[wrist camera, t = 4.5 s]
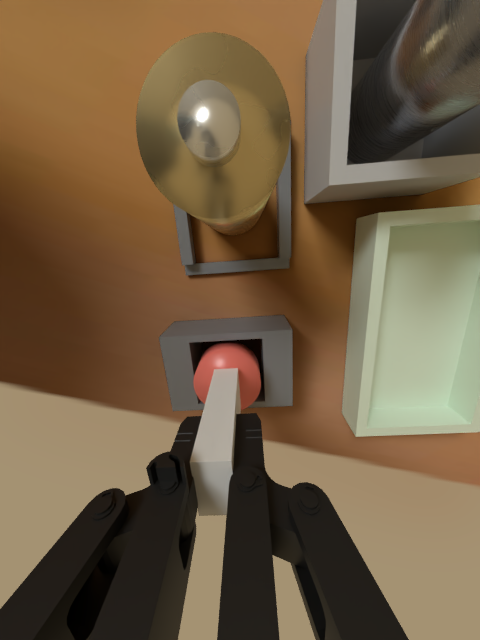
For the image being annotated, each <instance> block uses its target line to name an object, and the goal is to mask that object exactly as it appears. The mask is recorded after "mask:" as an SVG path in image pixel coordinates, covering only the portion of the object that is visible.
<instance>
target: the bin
mask: <svg viewBox="0 0 480 640" xmlns="http://www.w3.org/2000/svg"><path fill="white" fill-rule="evenodd" d="M415 1H416V0H323V3H322V6H321V9H320V12H319V16H318V19H317V22H316V25H315V28H314V31H313V35H312V38H311V41H310V44H309V47H308V51H307V54H306V89H305V169H304V204H311V203H323V202H336V201H348V200H360V199H372V198H385V197H397V196H409V195H422V194H425V193H429V192H432V191H435V190H438V189H442V188H445V187H448V186H452V185H455V184H458V183H462V182H465V181H468V180H471V179H475V178H478V177H480V104H479V105H478V106H476V107H474V108H473V109H471V110H469V111H468V112H466V113H464V114H463V115H461V116H459V117H458V118H456V119H454V120H453V121H451V122H449V123H448V124H446V125H444V126H443V127H441V128H439V129H438V130H436V131H434V132H433V133H431V134H429V135H428V136H426V137H424V138H423V139H421V140H419V141H418V142H416V143H414V144H413V145H411V146H409V147H408V148H406V149H404V150H403V151H401V152H399V153H398V154H396V155H394V156H393V157H391V158H389V159H388V160H386V161H384V162H376V163H365V164H354V163H352V162H351V161H350V160H348V159H347V152H348V136H349V119H350V103H351V93H352V91H353V90H354V88H355V87H356V85H357V84H358V83H359V81H360V80H361V78H362V77H363V75H364V74H365V73H366V71H367V70H368V68H369V67H370V65H371V64H372V63H373V61H374V60H375V58H376V57H377V55H378V54H379V52H380V51H381V50H382V48H383V47H384V45H385V44H386V42H387V41H388V40H389V38H390V37H391V35H392V34H393V32H394V31H395V30H396V28H397V27H398V25H399V24H400V22H401V21H402V20H403V18H404V17H405V15H406V14H407V12H408V11H409V10H410V8H411V7H412V5H413V4H414V2H415Z"/></svg>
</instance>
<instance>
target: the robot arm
mask: <svg viewBox="0 0 480 640" xmlns="http://www.w3.org/2000/svg"><path fill="white" fill-rule="evenodd" d="M146 469H147V473H148V476H149V480H150V484H151V485H150V486H149V487H147V488H145V489H143V490H140V491H137V492H134V493H131V494H129V495H126V496H125V494H124V492H123V491H122V490H120V489H117V488H113V489H109V490H106V491H103V492H102V493H100V494H99V495H97V496H96V497H95V498H94V499H93V500H92V501H91V502H89V503H88V505H87V506H86V507H85V508H84V509H83V511H82V512H81V513H80V514H79V515H78V517H77V518H76V519H75V520H74V522H73V523H72V524H71V525H70V526H69V528H68V529H67V530H66V531H65V532H64V534H63V535H62V536H61V537H60V539H58V541H57V542H56V543H55V544H54V545H53V547H52V548H51V549H50V550H49V552H48V553H47V554H46V555H45V556H44V557H43V559H42V560H41V561H40V562H39V564H38V565H37V566H36V567H35V568H34V569H33V571H32V572H31V573H30V574H29V575H28V577H27V578H26V579H25V580H24V581H23V583H22V584H21V585H20V586H19V588H18V589H17V590H16V591H15V592H14V593H13V595H12V596H11V597H10V598H9V599H8V601H7V602H6V603H5V604H4V605H3V607H2V608H1V609H0V640H178V634H179V629H180V623H181V618H182V612H183V605H184V600H185V595H186V589H187V583H188V577H189V572H190V566H191V560H192V554H193V549H194V543H195V537H196V524H195V518H196V513H197V508H198V512H199V516H204V515H227V518H226V532H225V545H224V557H223V571H222V584H221V597H220V610H219V623H218V637H217V640H279V630H278V618H277V605H276V593H275V582H274V569H273V558H272V555H274V556H276V557H279V558H281V559H283V560H286V561H288V562H290V563H291V565H292V568H293V572H294V574H295V578H296V581H297V584H298V587H299V590H300V593H301V596H302V599H303V602H304V605H305V608H306V611H307V614H308V617H309V620H310V623H311V626H312V630H313V632H314V636H315V639H316V640H409V639H408V638H407V636H406V634H405V633H404V631H403V629H402V627H401V625H400V623H399V622H398V620H397V618H396V617H395V615H394V613H393V611H392V609H391V608H390V606H389V604H388V602H387V601H386V599H385V597H384V595H383V594H382V592H381V590H380V588H379V586H378V585H377V583H376V581H375V580H374V578H373V576H372V574H371V572H370V571H369V569H368V567H367V565H366V564H365V562H364V560H363V558H362V556H361V555H360V553H359V551H358V549H357V548H356V546H355V544H354V543H353V541H352V539H351V537H350V535H349V534H348V532H347V530H346V528H345V527H344V525H343V523H342V521H341V520H340V518H339V516H338V514H337V512H336V511H335V509H334V507H333V505H332V504H331V502H330V500H329V498H328V497H327V495H326V494H325V493H324V492H323V491H322V489H320V488H319V487H317V486H316V485H314V484H311V483H307V482H306V483H299V484H297V485H295V486H293V488H292V489H291V488H288V487H284V486H282V485H279V484H277V483H275V482H274V481H273V480H271V478H270V477H269V476H268V474H267V473H266V471H265V466H264V454H263V442H262V430H261V420H260V419H259V417H258V416H257V414H256V413H250V414H241V400H240V388H239V375H238V368H229V369H214V372H213V376H212V380H211V384H210V387H209V391H208V395H207V399H206V402H205V406H204V410H203V414H202V416H193V417H187V418H186V419H185V420H184V421H183V422H182V423H181V425H180V427H179V430H178V433H177V435H176V438H175V442H174V444H173V446H172V449H171V451H170V452H166V453H162V454H160V455H158V456H156V457H155V458H154V459H153V460H152V461H151V462H150V463H149V465H148V466H147V468H146Z"/></svg>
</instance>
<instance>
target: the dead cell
mask: <svg viewBox="0 0 480 640" xmlns="http://www.w3.org/2000/svg"><path fill="white" fill-rule="evenodd" d="M479 104H480V0H416V1H415V2H414V4H413V5H412V7H411V8H410V10H409V11H408V12H407V14H406V15H405V17H404V18H403V20H402V21H401V22H400V24H399V25H398V27H397V28H396V30H395V31H394V32H393V34H392V35H391V37H390V38H389V40H388V41H387V42H386V44H385V45H384V47H383V48H382V50H381V51H380V52H379V54H378V55H377V57H376V58H375V60H374V61H373V63H372V64H371V65H370V67H369V68H368V70H367V71H366V73H365V74H364V75H363V77H362V78H361V80H360V81H359V83H358V84H357V85H356V87H355V88H354V90H353V91H352V93H351V103H350V119H349V136H348V152H347V159H348V160H350V161H351V162H352V163H354V164H365V163H376V162H384V161H386V160H388V159H389V158H391V157H393V156H394V155H396V154H398V153H399V152H401V151H403V150H404V149H406V148H408V147H409V146H411V145H413V144H414V143H416V142H418V141H419V140H421V139H423V138H424V137H426V136H428V135H429V134H431V133H433V132H434V131H436V130H438V129H439V128H441V127H443V126H444V125H446V124H448V123H449V122H451V121H453V120H454V119H456V118H458V117H459V116H461V115H463V114H464V113H466V112H468V111H469V110H471V109H473V108H474V107H476V106H478V105H479Z"/></svg>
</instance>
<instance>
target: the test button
mask: <svg viewBox="0 0 480 640" xmlns="http://www.w3.org/2000/svg"><path fill="white" fill-rule="evenodd" d="M229 368H238V375H239V388H240V400H241V410H243V409H245V408H247V407H248V406H250V405H251V404H252V403H253V402H254V401H255V400H256V398H257V397H258V395H259V392H260V388H261V379H260V370H259V363H258V360H257V357H256V356H255V354H254V353H253V352H252V351H251V350H250V349H249V348H248V347H247V346H245V345H243V344H241V343H238V342H233V341H224V342H219V343H216V344H214V345H212V346H211V347H209V348H208V349H207V350H206V351H205V352H204V354H203V355H202V357H201V360H200V362H199V365H198V367H197V370H196V372H195V375H194V381H193V384H194V390H195V392H196V394H197V396H198V398H199V399H200V400H201V401H202V402H203V403H204V404H205V402H206V399H207V395H208V391H209V387H210V384H211V380H212V376H213V372H214V369H229Z"/></svg>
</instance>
